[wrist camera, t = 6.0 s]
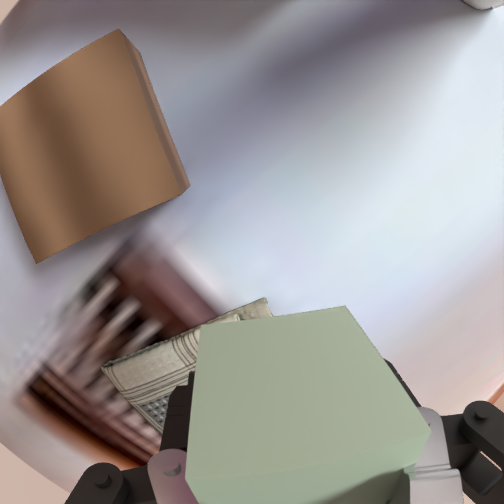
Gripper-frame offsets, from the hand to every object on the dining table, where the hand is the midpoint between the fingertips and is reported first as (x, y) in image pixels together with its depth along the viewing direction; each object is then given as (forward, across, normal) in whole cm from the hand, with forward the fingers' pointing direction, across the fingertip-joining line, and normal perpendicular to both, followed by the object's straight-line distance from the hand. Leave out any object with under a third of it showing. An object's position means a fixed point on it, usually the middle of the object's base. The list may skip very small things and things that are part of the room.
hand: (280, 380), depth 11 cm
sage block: (0, 0, 0) cm, 0 cm away
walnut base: (+16, +11, -10) cm, 22 cm away
